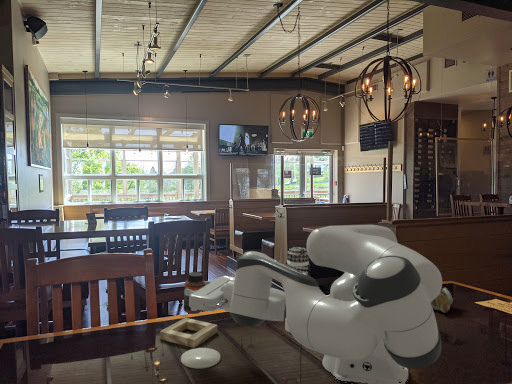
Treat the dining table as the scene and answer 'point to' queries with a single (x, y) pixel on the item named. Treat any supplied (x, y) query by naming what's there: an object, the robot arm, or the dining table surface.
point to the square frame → (176, 335)
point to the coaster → (200, 358)
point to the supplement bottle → (195, 284)
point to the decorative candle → (298, 259)
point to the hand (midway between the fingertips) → (192, 287)
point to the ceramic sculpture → (442, 301)
